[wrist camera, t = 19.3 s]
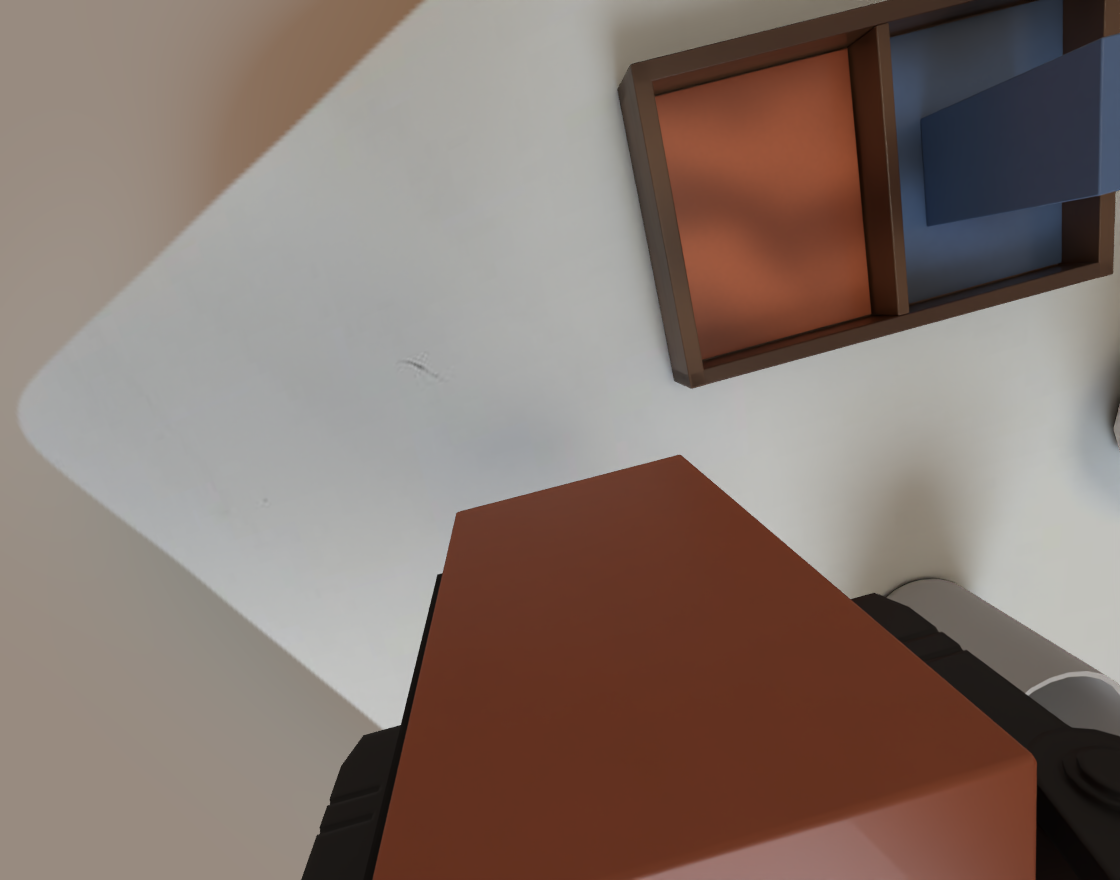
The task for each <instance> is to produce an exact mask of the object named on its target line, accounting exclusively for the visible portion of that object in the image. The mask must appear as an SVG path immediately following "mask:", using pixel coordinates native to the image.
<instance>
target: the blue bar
mask: <svg viewBox="0 0 1120 880" xmlns="http://www.w3.org/2000/svg"><path fill="white" fill-rule="evenodd" d="M921 133H922V149H923V165H924V181H925V198H926V214H927V226H928V227H931V226H937V225H942V224H947V223H953V222H958V221H964V220H969V219H975V218H980V217H986V216H991V215H997V214H1002V213H1007V212H1013V211H1018V210H1024V209H1029V208H1035V207H1040V206H1046V205H1051V204H1057V203H1062V202H1067V201H1073V200H1078V199H1084V198H1089V197H1095V196H1100V195H1104V194H1107V193H1111V192H1115V191H1118V190H1120V33H1118V34H1114V35H1110V36H1107V37H1103V38H1100V39H1098V40H1096V41H1094V42H1091V43H1089V44H1087V45H1085V46H1082V47H1080V48H1078V49H1076V50H1073V51H1071V52H1069V53H1067V54H1064V55H1062V56H1060V57H1058V58H1055V59H1053V60H1051V61H1049V62H1046V63H1044V64H1042V65H1040V66H1037V67H1035V68H1033V69H1031V70H1029V71H1026V72H1024V73H1022V74H1020V75H1017V76H1015V77H1013V78H1011V79H1008V80H1006V81H1004V82H1002V83H999V84H997V85H995V86H993V87H990V88H988V89H986V90H984V91H981V92H979V93H977V94H975V95H973V96H970V97H968V98H966V99H964V100H961V101H959V102H957V103H955V104H952V105H950V106H948V107H946V108H943V109H941V110H939V111H937V112H934V113H932V114H930V115H928V116H925V117H923V118H922V119H921Z"/></svg>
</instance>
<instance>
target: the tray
mask: <svg viewBox="0 0 1120 880" xmlns="http://www.w3.org/2000/svg"><path fill="white" fill-rule="evenodd" d="M1118 33H1120V0H888V1H884V2H880V3H876V4H872V5H868V6H864V7H860V8H856V9H852V10H847V11H843V12H839V13H835V14H831V15H827V16H823V17H819V18H815V19H811V20H807V21H803V22H799V23H795V24H791V25H787V26H783V27H779V28H775V29H771V30H767V31H763V32H759V33H755V34H751V35H747V36H743V37H739V38H735V39H731V40H727V41H723V42H719V43H715V44H710V45H706V46H702V47H698V48H694V49H690V50H686V51H682V52H678V53H674V54H670V55H666V56H662V57H658V58H654V59H650V60H646V61H642V62H638V63H634V64H631V65H630V66H629V68H628V70H627V72H626V74H625V76H624V78H623V80H622V81H621V83H620V85H619V87H618V94H619V100H620V105H621V110H622V115H623V120H624V125H625V130H626V135H627V140H628V145H629V150H630V156H631V161H632V166H633V171H634V176H635V181H636V186H637V191H638V196H639V202H640V207H641V212H642V217H643V222H644V227H645V232H646V237H647V243H648V248H649V253H650V258H651V263H652V268H653V273H654V278H655V283H656V289H657V294H658V299H659V304H660V309H661V314H662V319H663V324H664V329H665V335H666V340H667V345H668V350H669V355H670V360H671V365H672V370H673V376H674V381H675V382H678V383H680V384H682V385H684V386H687V387H689V388H691V389H692V388H696V387H700V386H703V385H706V384H710V383H714V382H717V381H721V380H725V379H728V378H732V377H736V376H739V375H743V374H747V373H750V372H754V371H758V370H761V369H765V368H769V367H772V366H776V365H780V364H783V363H787V362H791V361H794V360H798V359H802V358H805V357H809V356H813V355H816V354H820V353H824V352H827V351H831V350H835V349H838V348H842V347H846V346H849V345H853V344H857V343H860V342H864V341H868V340H871V339H875V338H879V337H882V336H886V335H890V334H893V333H897V332H901V331H904V330H908V329H912V328H915V327H919V326H923V325H927V324H930V323H934V322H938V321H941V320H945V319H949V318H952V317H956V316H960V315H963V314H967V313H971V312H974V311H978V310H982V309H985V308H989V307H993V306H996V305H1000V304H1004V303H1007V302H1011V301H1015V300H1018V299H1022V298H1026V297H1029V296H1033V295H1037V294H1040V293H1044V292H1048V291H1051V290H1055V289H1059V288H1062V287H1066V286H1070V285H1073V284H1077V283H1081V282H1084V281H1088V280H1092V279H1095V278H1100V277H1104V276H1107V275H1111V274H1113V256H1114V223H1115V192H1111V193H1107V194H1104V195H1100V196H1095V197H1089V198H1084V199H1078V200H1073V201H1067V202H1062V203H1057V204H1051V205H1046V206H1040V207H1035V208H1029V209H1024V210H1018V211H1013V212H1007V213H1002V214H997V215H991V216H986V217H980V218H975V219H969V220H964V221H958V222H953V223H947V224H942V225H937V226H931V227H928V226H927V214H926V198H925V181H924V165H923V149H922V133H921V119H922V118H923V117H925V116H928V115H930V114H932V113H934V112H937V111H939V110H941V109H943V108H946V107H948V106H950V105H952V104H955V103H957V102H959V101H961V100H964V99H966V98H968V97H970V96H973V95H975V94H977V93H979V92H981V91H984V90H986V89H988V88H990V87H993V86H995V85H997V84H999V83H1002V82H1004V81H1006V80H1008V79H1011V78H1013V77H1015V76H1017V75H1020V74H1022V73H1024V72H1026V71H1029V70H1031V69H1033V68H1035V67H1037V66H1040V65H1042V64H1044V63H1046V62H1049V61H1051V60H1053V59H1055V58H1058V57H1060V56H1062V55H1064V54H1067V53H1069V52H1071V51H1073V50H1076V49H1078V48H1080V47H1082V46H1085V45H1087V44H1089V43H1091V42H1094V41H1096V40H1098V39H1100V38H1103V37H1107V36H1110V35H1114V34H1118Z"/></svg>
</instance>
